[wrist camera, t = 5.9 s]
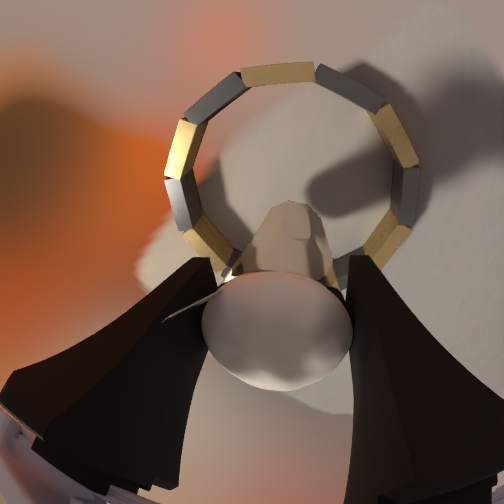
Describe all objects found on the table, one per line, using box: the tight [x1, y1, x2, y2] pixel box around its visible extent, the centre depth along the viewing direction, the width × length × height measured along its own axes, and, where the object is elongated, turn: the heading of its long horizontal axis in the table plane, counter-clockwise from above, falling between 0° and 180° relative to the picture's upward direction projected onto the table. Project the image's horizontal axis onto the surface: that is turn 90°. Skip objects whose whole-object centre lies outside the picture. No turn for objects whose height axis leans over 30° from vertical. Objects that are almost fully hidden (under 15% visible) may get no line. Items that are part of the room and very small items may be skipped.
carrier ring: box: [164, 62, 421, 290], centre depth 15 cm, size 14×14×2 cm
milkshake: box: [162, 200, 353, 391], centre depth 11 cm, size 4×5×10 cm
